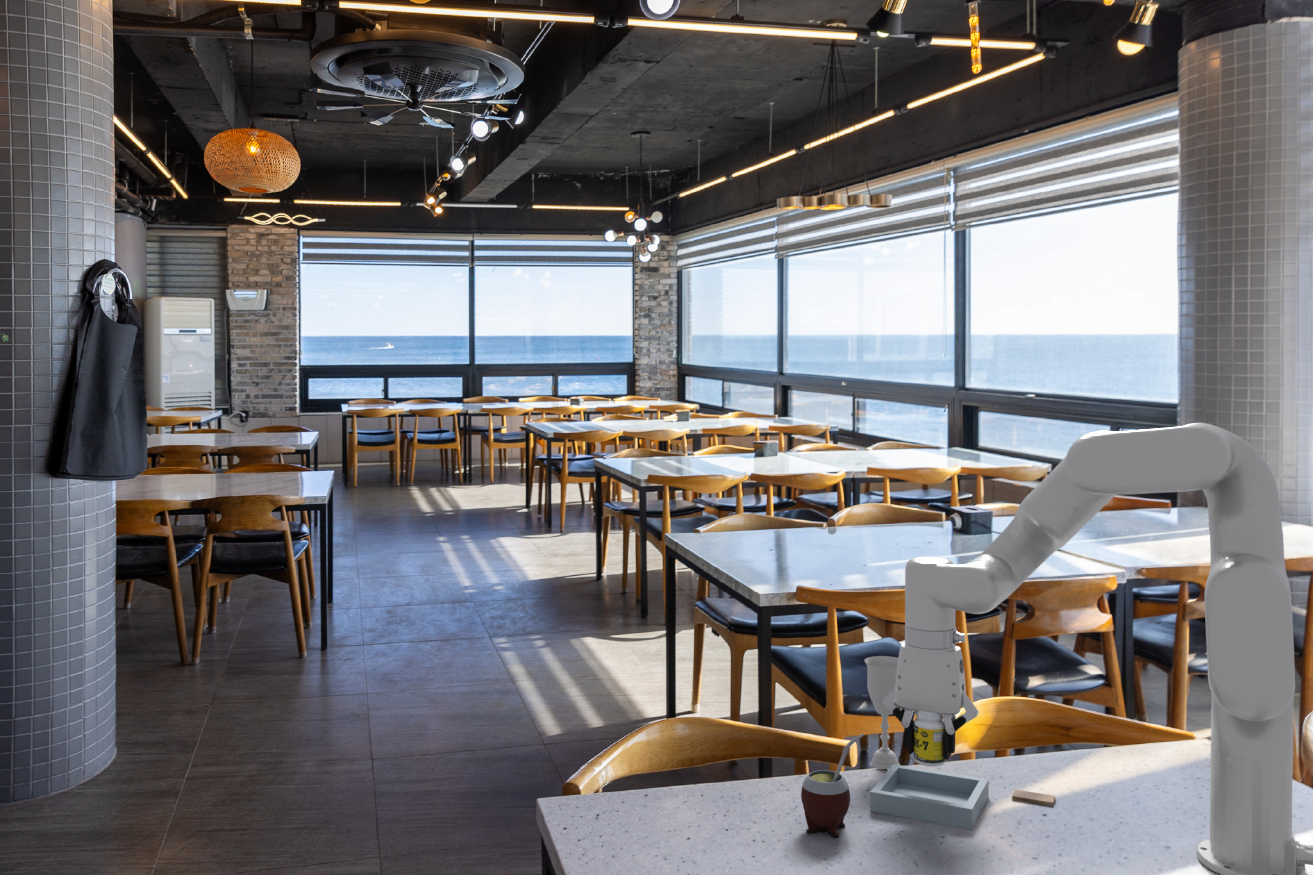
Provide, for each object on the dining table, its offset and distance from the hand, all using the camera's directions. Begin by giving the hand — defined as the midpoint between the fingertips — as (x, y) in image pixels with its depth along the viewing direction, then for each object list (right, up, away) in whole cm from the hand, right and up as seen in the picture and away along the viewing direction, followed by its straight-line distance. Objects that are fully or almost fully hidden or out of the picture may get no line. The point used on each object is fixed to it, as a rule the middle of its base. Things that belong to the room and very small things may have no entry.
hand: (929, 752), depth 160 cm
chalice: (-3, -8, +18) cm, 20 cm away
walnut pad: (+17, -8, +2) cm, 19 cm away
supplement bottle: (0, -2, 0) cm, 2 cm away
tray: (0, -8, 0) cm, 8 cm away
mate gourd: (-17, -9, -9) cm, 21 cm away
